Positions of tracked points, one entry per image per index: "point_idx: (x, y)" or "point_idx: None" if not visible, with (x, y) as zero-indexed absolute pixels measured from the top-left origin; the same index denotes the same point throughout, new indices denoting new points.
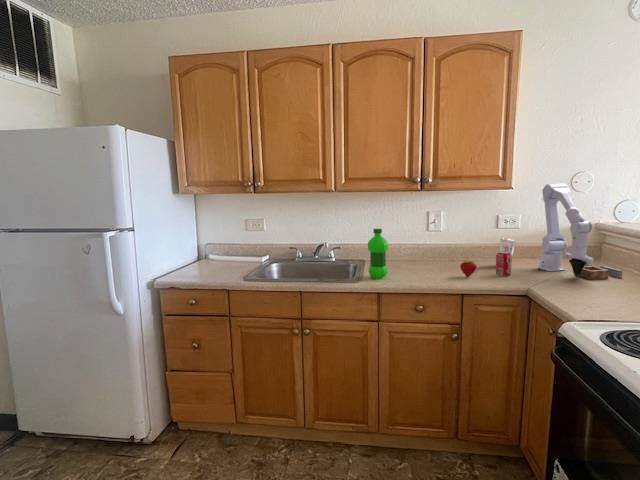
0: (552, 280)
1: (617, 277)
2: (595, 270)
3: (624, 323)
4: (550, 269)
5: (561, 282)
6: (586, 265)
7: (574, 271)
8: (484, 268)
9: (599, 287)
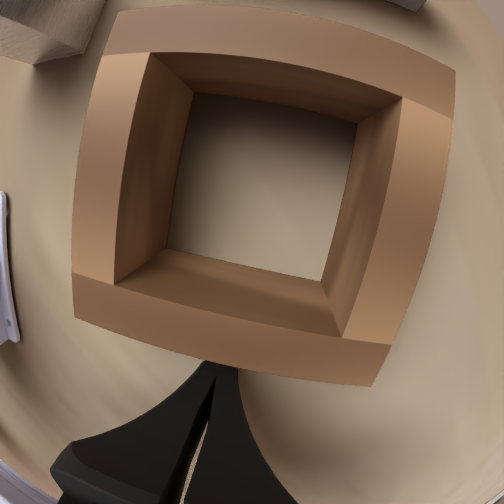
0: None
1: (400, 4)
2: (380, 287)
3: (496, 497)
4: (2, 317)
5: None
6: (49, 18)
7: (202, 430)
8: (12, 447)
9: (455, 422)
